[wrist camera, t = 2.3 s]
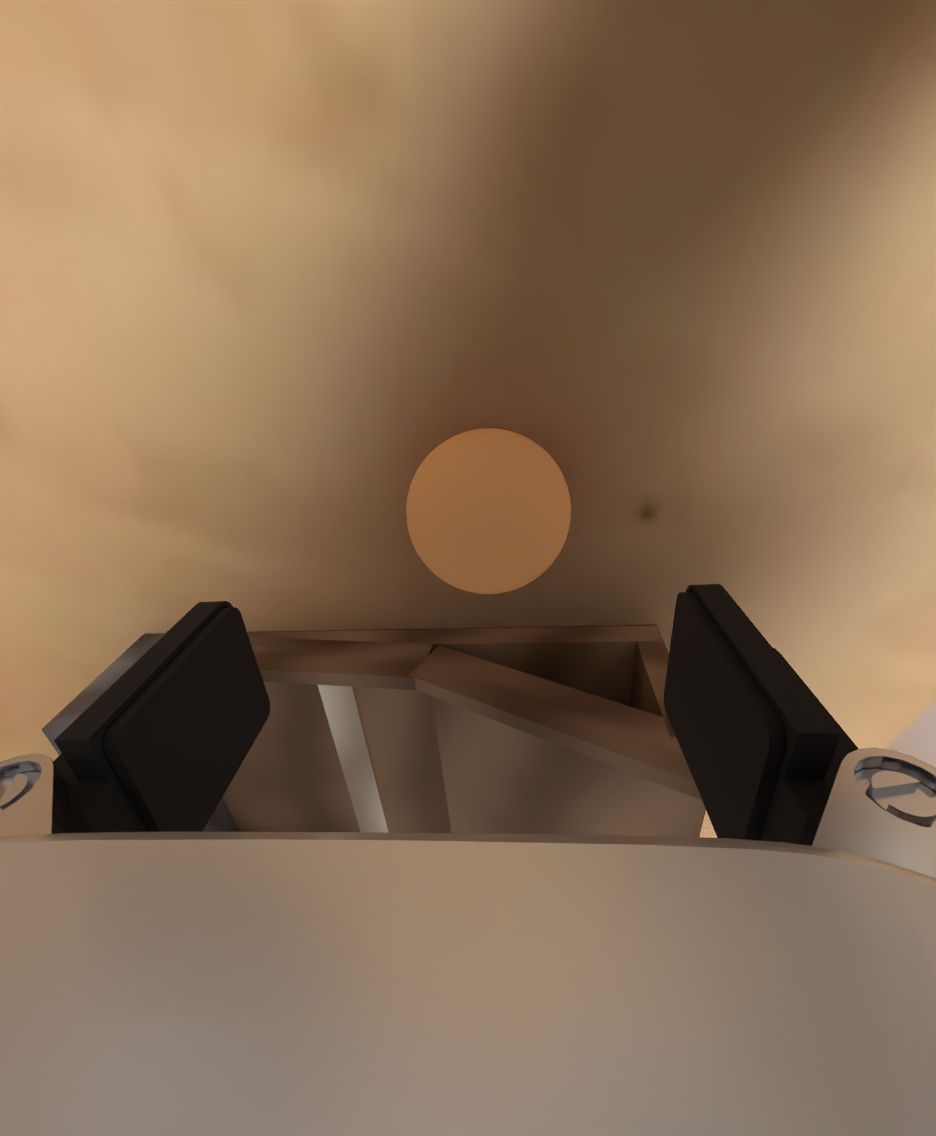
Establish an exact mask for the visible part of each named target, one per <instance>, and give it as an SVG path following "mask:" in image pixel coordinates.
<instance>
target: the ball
mask: <svg viewBox="0 0 936 1136" xmlns="http://www.w3.org/2000/svg"><path fill="white" fill-rule="evenodd" d="M406 520H407V527H408V531H409V535H410V538H411V541H412V543H413V545H414V548H415V550H416V552H417V553H418V555H419V557H420V558H421V560H422V561H423V562H424V564H425V565H426V566H427V567H428V568H429V569H430V570H431V571H432V572H433V573H434V574H435V575H436V576H438V577H439V578H440V579H441V580H443V581H445V582H446V583H448V584H450V585H452V586H454V587H456V588H458V589H461V590H464V591H468V592H472V593H479V594H498V593H505V592H509V591H513V590H515V589H518V588H521V587H523V586H525V585H527V584H529V583H530V582H532V581H533V580H535V579H536V578H538V577H539V576H540V575H542V574H543V573H544V572H545V571H546V570H547V569H548V568H549V567H550V566H551V564H552V563H553V562H554V561H555V559H556V558H557V556H558V555H559V553H560V552H561V550H562V548H563V545H564V543H565V541H566V538H567V535H568V531H569V527H570V521H571V503H570V494H569V490H568V487H567V483H566V481H565V479H564V476H563V474H562V472H561V470H560V469H559V467H558V465H557V464H556V462H555V461H554V460H553V458H552V457H551V456H550V455H549V454H548V453H547V452H546V451H545V450H544V449H543V448H542V447H541V446H539V445H538V444H536V443H535V442H533V441H532V440H530V439H528V438H527V437H525V436H523V435H521V434H518V433H515V432H512V431H508V430H503V429H495V428H483V429H475V430H470V431H466V432H463V433H460V434H457V435H455V436H453V437H451V438H449V439H447V440H446V441H444V442H443V443H441V444H440V445H438V446H437V447H436V448H435V449H434V450H433V451H432V452H430V454H429V455H428V456H427V457H426V458H425V459H424V461H423V462H422V463H421V465H420V466H419V468H418V469H417V471H416V473H415V475H414V477H413V480H412V482H411V485H410V489H409V492H408V496H407V503H406Z"/></svg>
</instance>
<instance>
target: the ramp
mask: <svg viewBox="0 0 936 1136" xmlns="http://www.w3.org/2000/svg"><path fill="white" fill-rule="evenodd" d="M247 634H248V637H249V640H250V643H251V646H252V649H253V652H254V655H255V658H256V661H257V664H258V667H259V670H260V673H261V676H262V679H263V682H264V685H265V688H266V691H267V694H268V697H269V700H270V713H269V717H268V719H267V721H266V722H265V724H264V726H263V728H262V729H261V731H260V733H259V734H258V736H257V738H256V740H255V741H254V743H253V745H252V747H251V748H250V750H249V752H248V754H247V755H246V757H245V759H244V760H243V762H242V764H241V766H240V767H239V769H238V771H237V773H236V774H235V776H234V778H233V780H232V781H231V783H230V785H229V786H228V788H227V790H226V792H225V793H224V795H223V797H222V799H221V800H220V802H219V804H218V806H217V807H216V809H215V811H214V813H213V814H212V816H211V818H210V819H209V821H208V823H207V825H206V826H205V828H204V830H203V832H385V833H492V834H568V835H632V836H666V837H699V836H700V832H701V827H702V823H703V819H704V815H705V811H706V808H705V806H704V803H703V801H702V798H701V796H700V794H699V791H698V789H697V786H696V784H695V782H694V779H693V777H692V774H691V772H690V769H689V767H688V765H687V762H686V760H685V757H684V755H683V752H682V750H681V748H680V745H679V743H678V740H677V738H676V736H675V733H674V731H673V728H672V726H671V723H670V721H669V719H668V716H667V714H666V711H665V706H664V689H665V681H666V674H667V666H668V659H669V653H668V650H667V648H666V646H665V644H664V641H663V639H662V637H661V634H660V632H659V630H658V627H657V625H650V626H591V627H531V628H471V629H411V630H352V631H292V632H247ZM164 635H165V634H144V635H142V636H141V637H140V638H139V639H138V640H137V641H136V642H135V643H134V644H133V645H132V646H131V647H130V648H128V649H127V650H126V651H125V652H124V653H123V654H122V655H121V656H120V657H119V658H118V659H117V660H116V661H115V662H113V663H112V664H111V665H110V666H109V667H108V668H107V669H106V670H105V671H104V672H103V673H102V674H101V675H99V676H98V677H97V678H96V679H95V680H94V681H93V682H92V683H91V684H90V685H89V686H88V687H87V688H86V689H84V690H83V691H82V692H81V693H80V694H79V695H78V696H77V697H76V698H75V699H74V700H73V701H72V702H70V703H69V704H68V705H67V706H66V707H65V708H64V709H63V710H62V711H61V712H60V713H59V714H58V715H56V716H55V717H54V718H53V719H52V720H51V721H50V722H49V723H48V724H47V725H46V726H45V727H44V728H43V729H42V731H43V732H44V734H45V735H46V736H47V738H48V739H49V741H50V742H51V744H52V745H53V747H54V748H55V750H56V751H57V753H58V754H59V755H61V754H62V753H61V751H60V750H59V748H58V746H57V745H56V743H55V742H54V740H55V739H56V738H57V737H58V736H59V735H60V734H61V733H62V732H63V731H64V730H65V729H66V728H67V727H68V726H69V725H70V724H72V723H73V722H74V721H75V720H76V719H77V718H78V717H79V716H80V715H81V714H82V713H83V712H84V711H85V710H86V709H87V708H88V707H89V706H90V705H91V704H92V703H94V702H95V701H96V700H97V699H98V698H99V697H100V696H101V695H102V694H103V693H104V692H105V691H106V690H107V689H108V688H109V687H110V686H111V685H112V684H113V683H115V682H116V681H117V680H118V679H119V678H120V677H121V676H122V675H123V674H124V673H125V672H126V671H127V670H128V669H129V668H130V667H131V666H132V665H133V664H134V663H135V662H137V661H138V660H139V659H140V658H141V657H142V656H143V655H144V654H145V653H146V652H147V651H148V650H149V649H150V648H151V647H152V646H153V645H154V644H155V643H156V642H157V641H159V640H160V639H161V638H162V637H163V636H164Z"/></svg>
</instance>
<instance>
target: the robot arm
mask: <svg viewBox="0 0 936 1136" xmlns="http://www.w3.org/2000/svg"><path fill="white" fill-rule="evenodd" d="M664 706H665V711H666V714H667V716H668V719H669V721H670V723H671V726H672V728H673V731H674V733H675V736H676V738H677V740H678V743H679V745H680V748H681V750H682V752H683V755H684V757H685V760H686V762H687V765H688V767H689V769H690V772H691V774H692V777H693V779H694V782H695V784H696V786H697V789H698V791H699V794H700V796H701V798H702V801H703V803H704V806H705V808H706V811H707V813H708V815H709V818H710V820H711V823H712V825H713V827H714V830H715V832H716V835H717V837H718V838H699V837H666V836H632V835H568V834H492V833H385V832H203V830H204V828H205V826H206V825H207V823H208V821H209V819H210V818H211V816H212V814H213V813H214V811H215V809H216V807H217V806H218V804H219V802H220V800H221V799H222V797H223V795H224V793H225V792H226V790H227V788H228V786H229V785H230V783H231V781H232V780H233V778H234V776H235V774H236V773H237V771H238V769H239V767H240V766H241V764H242V762H243V760H244V759H245V757H246V755H247V754H248V752H249V750H250V748H251V747H252V745H253V743H254V741H255V740H256V738H257V736H258V734H259V733H260V731H261V729H262V728H263V726H264V724H265V722H266V721H267V719H268V717H269V713H270V700H269V697H268V694H267V691H266V688H265V685H264V682H263V679H262V676H261V673H260V670H259V667H258V664H257V661H256V658H255V655H254V652H253V649H252V646H251V643H250V640H249V637H248V634H247V631H246V628H245V625H244V622H243V619H242V616H241V613H240V611H239V610H238V609H237V608H235V607H234V608H233V606H232V605H231V604H230V603H229V602H227V601H220V602H200V603H198V604H196V605H195V606H194V607H193V608H192V609H191V610H190V611H189V612H188V613H187V614H186V615H185V616H184V617H183V618H182V619H181V620H179V621H178V622H177V623H176V624H175V625H174V626H173V627H172V628H171V629H170V630H169V631H168V632H167V633H166V634H165V635H164V636H163V637H162V638H161V639H160V640H159V641H157V642H156V643H155V644H154V645H153V646H152V647H151V648H150V649H149V650H148V651H147V652H146V653H145V654H144V655H143V656H142V657H141V658H140V659H139V660H138V661H137V662H135V663H134V664H133V665H132V666H131V667H130V668H129V669H128V670H127V671H126V672H125V673H124V674H123V675H122V676H121V677H120V678H119V679H118V680H117V681H116V682H115V683H113V684H112V685H111V686H110V687H109V688H108V689H107V690H106V691H105V692H104V693H103V694H102V695H101V696H100V697H99V698H98V699H97V700H96V701H95V702H94V703H92V704H91V705H90V706H89V707H88V708H87V709H86V710H85V711H84V712H83V713H82V714H81V715H80V716H79V717H78V718H77V719H76V720H75V721H74V722H73V723H72V724H70V725H69V726H68V727H67V728H66V729H65V730H64V731H63V732H62V733H61V734H60V735H59V736H58V737H57V738H56V739H55V740H54V742H55V743H56V745H57V746H58V748H59V750H60V751H61V753H62V754H61V755H60V756H59V757H58V758H57V759H56V760H55V761H54V762H53V761H52V759H51V758H49V757H47V756H46V755H43V754H28V755H22V756H17V757H14V758H12V759H9V760H6V761H3V762H0V1136H936V768H935V767H934V766H932V765H930V764H928V763H926V762H924V761H921V760H919V759H917V758H915V757H913V756H909V755H906V754H903V753H900V752H897V751H894V750H887V749H880V748H864V749H858V748H857V746H856V745H855V744H854V743H853V742H852V740H851V739H850V738H849V737H848V735H847V734H846V733H845V732H844V731H843V729H842V728H841V727H840V726H839V724H838V723H837V722H836V721H835V720H834V718H833V717H832V716H831V715H830V714H829V712H828V711H827V710H826V709H825V707H824V706H823V705H822V704H821V703H820V701H819V700H818V699H817V698H816V696H815V695H814V694H813V693H812V692H811V690H810V689H809V688H808V687H807V685H806V684H805V683H804V682H803V681H802V679H801V678H800V677H799V676H798V675H797V673H796V672H795V671H794V670H793V668H792V667H791V666H790V665H789V664H788V662H787V661H786V660H785V659H784V657H783V656H782V655H781V654H780V653H779V652H778V651H777V650H776V649H774V648H772V647H771V645H770V644H769V643H768V642H767V641H766V639H765V638H764V637H763V636H762V634H761V633H760V632H759V631H758V629H757V628H756V627H755V626H754V625H753V623H752V622H751V621H750V620H749V618H748V617H747V616H746V615H745V613H744V612H743V611H742V610H741V609H740V607H739V606H738V605H737V604H736V602H735V601H734V600H733V599H732V597H731V596H730V595H729V594H728V592H727V591H726V590H725V589H724V588H723V586H721V585H720V584H707V585H690V586H688V588H687V590H686V592H680V593H679V594H678V596H677V600H676V607H675V615H674V622H673V629H672V637H671V644H670V652H669V659H668V666H667V674H666V681H665V689H664Z"/></svg>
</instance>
